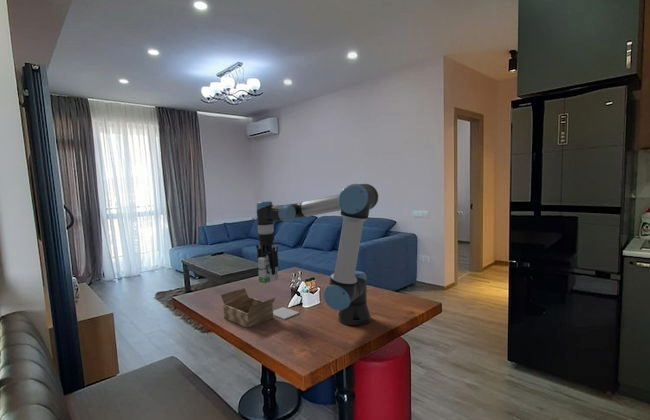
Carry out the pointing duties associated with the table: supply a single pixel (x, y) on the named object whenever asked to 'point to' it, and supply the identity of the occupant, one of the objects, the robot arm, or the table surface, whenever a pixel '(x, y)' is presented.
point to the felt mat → (284, 313)
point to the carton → (246, 308)
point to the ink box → (265, 270)
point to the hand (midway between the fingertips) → (268, 280)
